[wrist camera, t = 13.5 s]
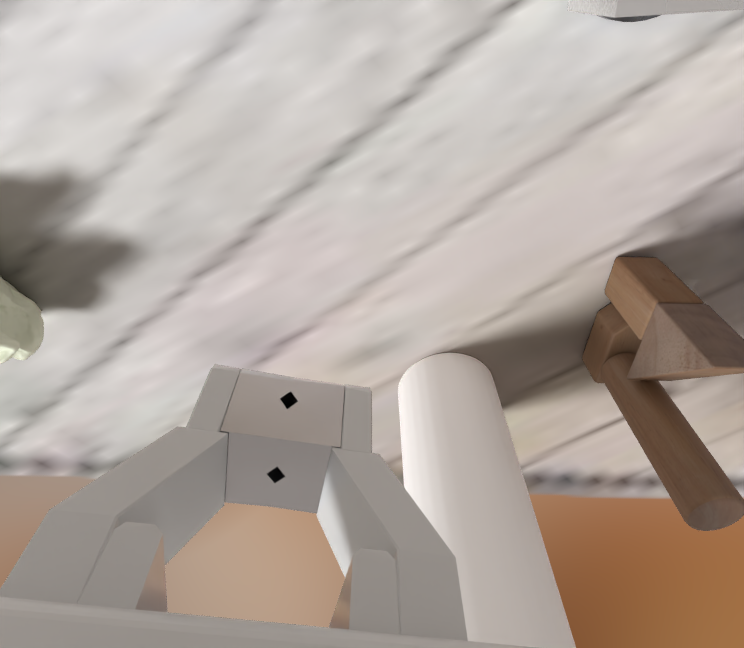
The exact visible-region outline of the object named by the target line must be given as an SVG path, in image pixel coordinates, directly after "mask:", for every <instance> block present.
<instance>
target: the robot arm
mask: <svg viewBox="0 0 744 648" xmlns="http://www.w3.org/2000/svg"><path fill="white" fill-rule="evenodd" d="M224 502H228V503H239V504H249V505H260V506H270V507H278V508H284V509H291V510H297V511H304V512H311V513H317V517H318V520H319V522H320V524H321V526H322V528H323V531H324V533H325V535H326V537H327V539H328V541H329V544H330V546H331V548H332V550H333V552H334V554H335V557H336V559H337V561H338V563H339V565H340V568H341V569H342V572H343V574H344V576H345V581H344V584H343V586H342V589H341V593H340V595H339V598H338V602H337V605H336V608H335V611H334V614H333V617H332V620H331V623H330V626H329V628H327V627H316V626H306V625H296V624H285V623H275V622H264V621H253V620H243V619H231V618H222V617H211V616H200V615H189V614H179V613H168V612H167V596H166V579H165V565H166V564H167V563H168V562H169V561H170V560H171V559H172V558H173V557H174V556H175V555H176V554H177V553H178V551H180V549H182V547H184V546H185V544H186V543H187V542H188V541H189V540H190V539H191V538H192V537H193V536H194V535H195V534H196V533H197V532H198V531H199V530H200V529H201V528H202V527H203V526H204V525H205V524H206V523H207V522H208V521H209V520H210V519H211V518H212V517H213V516H214V515H215V514H216V513H217V512H218V511H219V510H220V509H221V508H222V507H223V506H224ZM0 648H536V647H526V646H515V645H505V644H494V643H484V642H473V641H468V638H467V631H466V625H465V618H464V611H463V604H462V597H461V590H460V583H459V577H458V570H457V563H456V557H455V556H454V554H453V553H452V552H451V550H450V549H449V548H448V546H447V545H446V544H445V542H444V541H443V540H442V538H441V537H440V535H439V534H438V533H437V531H436V530H435V529H434V527H433V526H432V525H431V523H430V522H429V520H428V519H427V518H426V516H425V515H424V514H423V512H422V511H421V510H420V508H419V507H418V506H417V504H416V503H415V501H414V500H413V499H412V497H411V496H410V495H409V493H408V492H407V491H406V489H405V488H404V486H403V485H402V484H401V482H400V481H399V480H398V478H397V477H396V476H395V474H394V473H393V472H392V470H391V469H390V467H389V466H388V465H387V463H386V462H385V461H384V459H383V458H382V457H381V455H380V454H375V453H372V391H371V389H370V388H368V387H360V386H353V385H345V386H344V385H342V384H336V383H329V382H322V381H315V380H308V379H301V378H294V377H288V376H282V375H277V374H271V373H265V372H260V371H254V370H248V369H243V368H242V369H239V368H234V367H228V366H223V365H217V364H215V365H214V366H213V367H212V368H211V369H210V372H209V374H208V376H207V379H206V381H205V384H204V386H203V388H202V391H201V393H200V395H199V398H198V400H197V403H196V405H195V407H194V410H193V412H192V414H191V417H190V419H189V422H188V424H187V426H186V427H178V426H177V427H176V428H174V429H173V430H171V431H170V432H168V433H167V434H165V435H163V436H162V437H160V438H159V439H157V440H156V441H154V442H153V443H151V444H150V445H148V446H147V447H145V448H144V449H142V450H140V451H139V452H137V453H136V454H134V455H133V456H131V457H130V458H128V459H127V460H125V461H124V462H122V463H120V464H119V465H117V466H116V467H114V468H113V469H111V470H110V471H108V472H107V473H105V474H104V475H102V476H100V477H99V478H97V479H96V480H94V481H93V482H91V483H90V484H88V485H87V486H85V487H84V488H82V489H81V490H79V491H77V492H76V493H74V494H73V495H71V496H70V497H68V498H67V499H65V500H64V501H62V502H61V503H59V504H58V505H56V506H54V507H53V508H51V509H50V510H49V511H48V513H47V515H46V516H45V518H44V519H43V521H42V523H41V524H40V526H39V527H38V529H37V531H36V532H35V534H34V535H33V537H32V539H31V541H30V542H29V544H28V545H27V547H26V549H25V550H24V552H23V553H22V555H21V557H20V558H19V560H18V561H17V563H16V564H15V566H14V568H13V569H12V571H11V573H10V574H9V576H8V577H7V579H6V581H5V582H4V584H3V585H2V587H1V589H0Z"/></svg>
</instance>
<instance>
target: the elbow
mask: <svg viewBox="0 0 744 648" xmlns="http://www.w3.org/2000/svg"><path fill="white" fill-rule="evenodd" d="M742 9H744V0H569V2H568V9H567V11H571V12H578V13H586V14H593V15H600V16H607V17H614V18H616V17H632V16H648V15H664V14H679V13H695V12H711V11H727V10H742Z"/></svg>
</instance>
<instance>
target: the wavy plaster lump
mask: <svg viewBox="0 0 744 648" xmlns="http://www.w3.org/2000/svg"><path fill="white" fill-rule="evenodd" d="M43 325H44V322H43V319H42V317H41V310H40V309H39V307H38V306H37V304H36V303H34V302H33V301H32V300H31V299H29V298H27V297H26V296H24V295H23V294H21V293H19V292H18V291H17V290H16V288H15V287H14V286H12V285H11V284H9V283H8V282H7V281H5V280H3V279H2V277H1V276H0V364H1V363H4V362H6V361H8V360H9V359H10V358H13V357H14V358H16V359H18V360H26V359H27V358H28V357H30V356H31V355H33V354H34V353H35V352H36V350H37V349H38V348H39V347H40V345H41V343H42V340H43V336H44V326H43Z"/></svg>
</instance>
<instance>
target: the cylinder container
mask: <svg viewBox="0 0 744 648" xmlns="http://www.w3.org/2000/svg"><path fill="white" fill-rule="evenodd" d="M398 398H399V413H400V429H401V444H402V459H403V475H404V488H405V489H406V491H407V492H408V493H409V495H410V496H411V497H412V499H413V500H414V501H415V503H416V504H417V506H418V507H419V508H420V510H421V511H422V512H423V514H424V515H425V516H426V518H427V519H428V520H429V522H430V523H431V525H432V526H433V527H434V529H435V530H436V531H437V533H438V534H439V535H440V537H441V538H442V540H443V541H444V542H445V544H446V545H447V546H448V548H449V549H450V550H451V552H452V553H453V554H454V556H455V557H456V563H457V570H458V577H459V583H460V590H461V597H462V604H463V611H464V618H465V625H466V631H467V638H468V641H473V642H484V643H494V644H505V645H515V646H526V647H536V648H576V646H575V643H574V640H573V637H572V633H571V630H570V627H569V624H568V621H567V617H566V614H565V611H564V607H563V604H562V601H561V598H560V594H559V591H558V588H557V585H556V581H555V578H554V575H553V572H552V568H551V565H550V562H549V559H548V555H547V552H546V549H545V546H544V542H543V539H542V536H541V533H540V529H539V526H538V523H537V520H536V517H535V513H534V510H533V507H532V504H531V500H530V497H529V494H528V490H527V487H526V484H525V481H524V477H523V474H522V471H521V468H520V464H519V461H518V458H517V455H516V451H515V448H514V445H513V442H512V438H511V435H510V432H509V429H508V425H507V422H506V419H505V416H504V412H503V409H502V406H501V403H500V399H499V396H498V393H497V390H496V386H495V383H494V380H493V377H492V374H491V372H490V371H489V369H488V368H487V367H486V366H485V365H484V364H483V363H482V362H480V361H479V360H477V359H475V358H473V357H471V356H468V355H465V354H460V353H440V354H435V355H431V356H429V357H426V358H423V359H421V360H420V361H418V362H416V363H415V364H413V365H412V366H411V367H410V368H409V369H408V370H407V371H406V372H405V373H404V375H403V376H402V378H401V380H400V383H399V387H398Z"/></svg>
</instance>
